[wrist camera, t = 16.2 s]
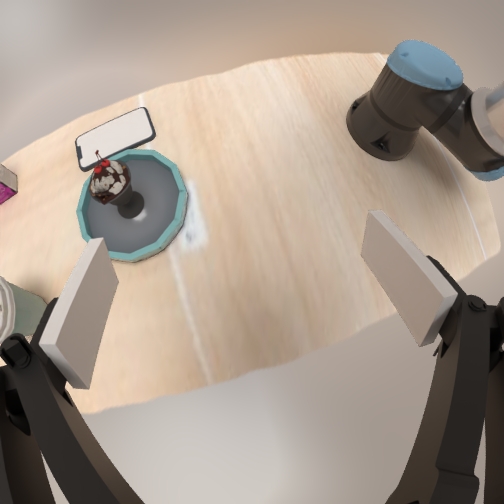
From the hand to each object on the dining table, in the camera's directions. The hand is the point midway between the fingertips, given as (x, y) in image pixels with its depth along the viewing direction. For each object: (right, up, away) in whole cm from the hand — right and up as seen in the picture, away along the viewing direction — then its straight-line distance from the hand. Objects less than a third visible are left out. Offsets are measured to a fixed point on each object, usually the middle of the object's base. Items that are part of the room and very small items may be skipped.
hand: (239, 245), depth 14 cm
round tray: (-20, +7, +34) cm, 40 cm away
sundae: (-20, +8, +33) cm, 39 cm away
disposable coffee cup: (-38, -11, +29) cm, 50 cm away
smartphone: (-26, +21, +37) cm, 50 cm away
